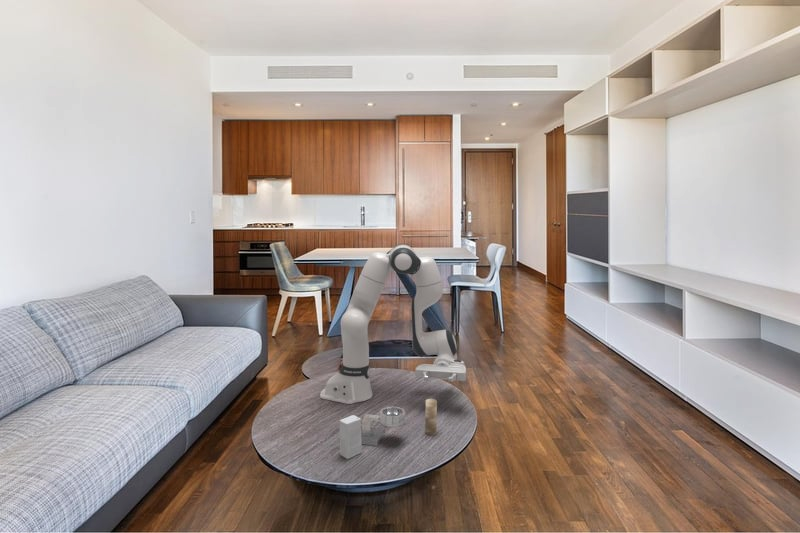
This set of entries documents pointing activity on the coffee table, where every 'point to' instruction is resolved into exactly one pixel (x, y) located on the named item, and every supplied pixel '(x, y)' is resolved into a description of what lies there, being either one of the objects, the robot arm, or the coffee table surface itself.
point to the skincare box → (350, 436)
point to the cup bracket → (388, 419)
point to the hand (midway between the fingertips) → (437, 379)
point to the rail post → (431, 417)
